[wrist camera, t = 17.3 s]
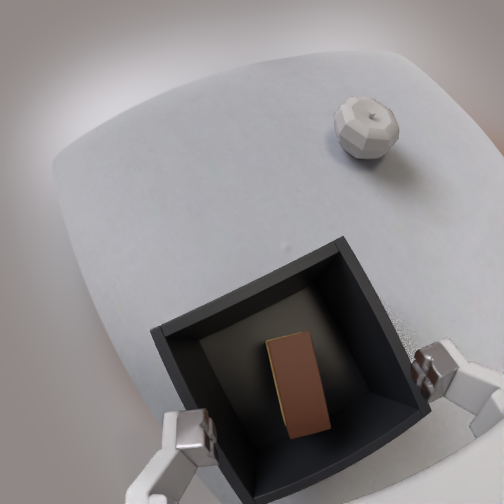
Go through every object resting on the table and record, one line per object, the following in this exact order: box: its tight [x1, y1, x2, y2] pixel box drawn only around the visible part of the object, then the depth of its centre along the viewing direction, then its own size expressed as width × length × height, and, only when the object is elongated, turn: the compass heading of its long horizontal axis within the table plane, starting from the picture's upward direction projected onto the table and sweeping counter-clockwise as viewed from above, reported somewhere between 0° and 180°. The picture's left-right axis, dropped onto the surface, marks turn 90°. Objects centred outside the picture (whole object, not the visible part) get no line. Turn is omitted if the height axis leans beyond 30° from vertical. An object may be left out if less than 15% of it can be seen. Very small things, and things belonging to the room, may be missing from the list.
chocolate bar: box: [265, 331, 331, 439], centre depth 20 cm, size 2×6×11 cm, turn 12°
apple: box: [334, 97, 399, 159], centre depth 30 cm, size 8×8×7 cm
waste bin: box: [150, 236, 432, 504], centre depth 21 cm, size 14×14×11 cm
